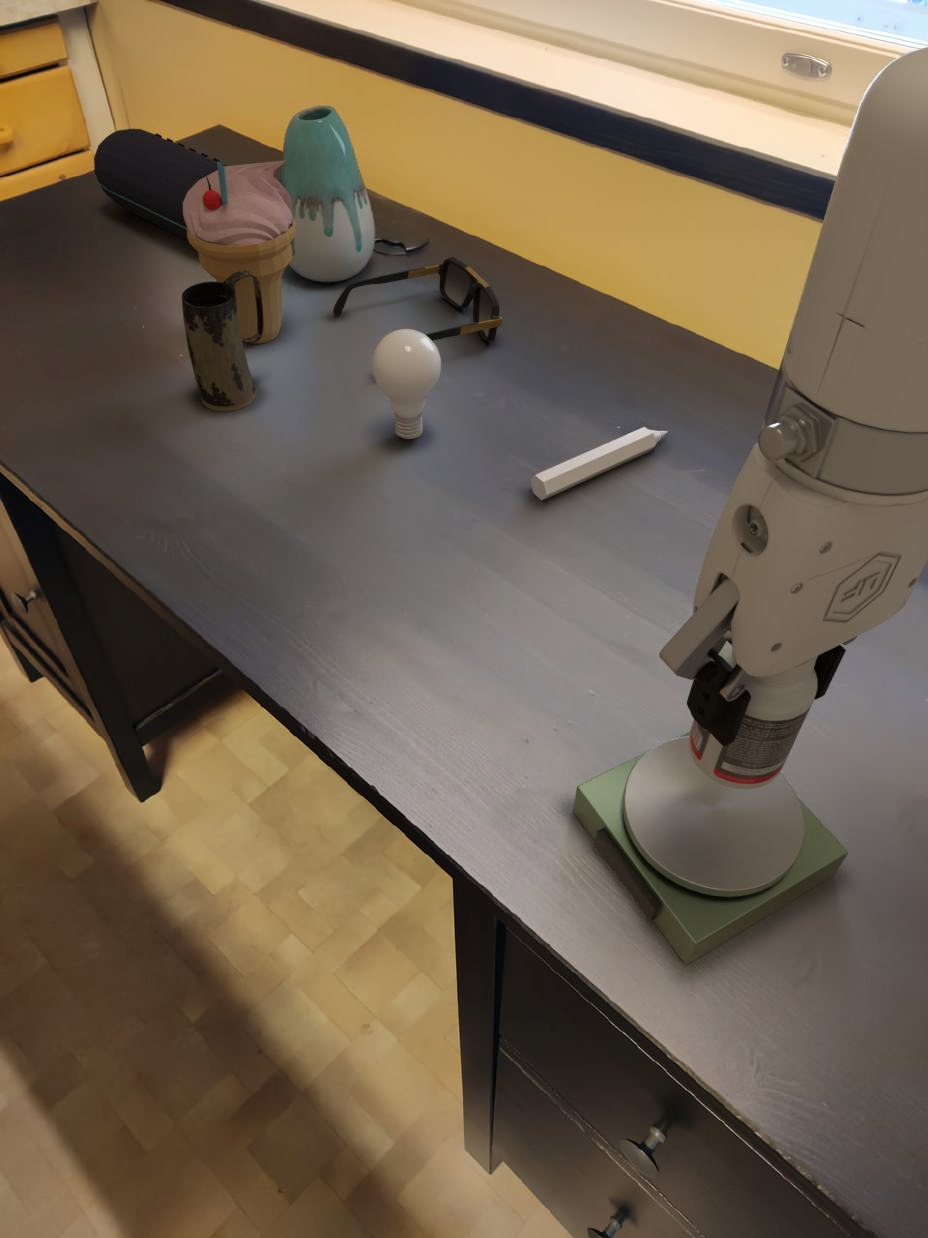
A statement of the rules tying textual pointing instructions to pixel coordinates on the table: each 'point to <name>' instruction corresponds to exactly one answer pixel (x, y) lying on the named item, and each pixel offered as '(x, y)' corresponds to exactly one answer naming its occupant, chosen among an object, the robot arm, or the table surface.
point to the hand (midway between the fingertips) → (755, 700)
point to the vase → (326, 198)
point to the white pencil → (594, 462)
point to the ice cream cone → (244, 236)
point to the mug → (220, 342)
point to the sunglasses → (449, 296)
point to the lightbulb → (406, 376)
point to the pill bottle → (758, 728)
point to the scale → (679, 910)
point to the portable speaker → (150, 175)
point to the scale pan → (710, 824)
